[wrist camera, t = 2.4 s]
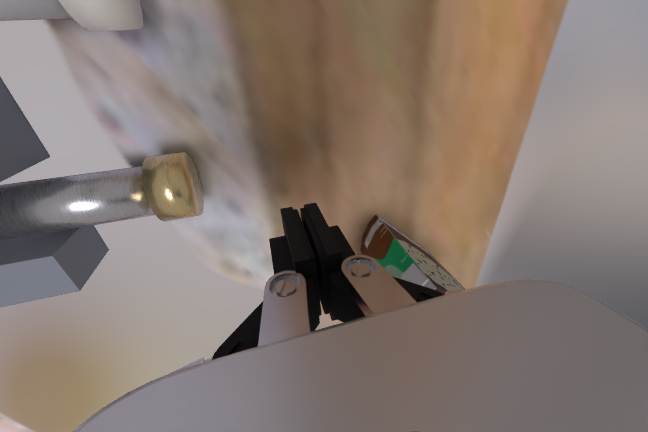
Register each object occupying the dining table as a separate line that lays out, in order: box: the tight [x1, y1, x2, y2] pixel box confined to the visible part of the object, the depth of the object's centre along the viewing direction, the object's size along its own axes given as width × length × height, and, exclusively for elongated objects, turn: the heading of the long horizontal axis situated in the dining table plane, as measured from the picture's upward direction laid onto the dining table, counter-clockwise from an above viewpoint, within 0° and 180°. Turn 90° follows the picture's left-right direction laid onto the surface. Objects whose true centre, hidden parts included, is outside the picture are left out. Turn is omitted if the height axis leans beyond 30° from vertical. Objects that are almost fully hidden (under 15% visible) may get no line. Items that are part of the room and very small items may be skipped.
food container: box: [361, 215, 466, 295], centre depth 24 cm, size 12×6×10 cm, turn 50°
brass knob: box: [0, 152, 203, 240], centre depth 15 cm, size 4×10×4 cm, turn 94°
